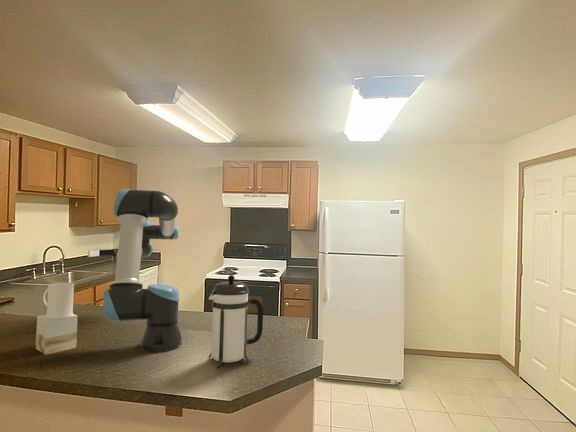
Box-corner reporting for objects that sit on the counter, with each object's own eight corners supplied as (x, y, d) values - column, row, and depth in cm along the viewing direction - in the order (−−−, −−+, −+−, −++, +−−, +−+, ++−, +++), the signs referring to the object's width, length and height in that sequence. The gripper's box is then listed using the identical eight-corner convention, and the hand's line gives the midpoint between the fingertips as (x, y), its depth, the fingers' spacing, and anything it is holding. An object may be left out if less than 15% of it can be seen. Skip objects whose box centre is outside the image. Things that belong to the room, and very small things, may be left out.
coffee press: (240, 373, 107) (242, 279, 109) (197, 365, 113) (201, 275, 114) (262, 355, 124) (264, 273, 125) (224, 349, 129) (227, 270, 131)
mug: (33, 317, 124) (35, 284, 125) (54, 312, 132) (56, 281, 133) (58, 319, 121) (60, 286, 122) (78, 314, 129) (80, 283, 130)
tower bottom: (76, 347, 127) (77, 331, 127) (45, 355, 119) (46, 337, 119) (65, 342, 133) (66, 326, 133) (35, 348, 125) (36, 332, 125)
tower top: (76, 331, 127) (77, 315, 128) (45, 337, 119) (46, 320, 120) (66, 326, 133) (67, 311, 134) (36, 332, 126) (37, 316, 126)
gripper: (154, 260, 166) (129, 263, 145) (107, 258, 169) (76, 261, 148) (154, 244, 167) (130, 246, 146) (108, 243, 169) (77, 244, 148)
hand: (102, 254), depth 147 cm, fingers open, 13 cm apart
